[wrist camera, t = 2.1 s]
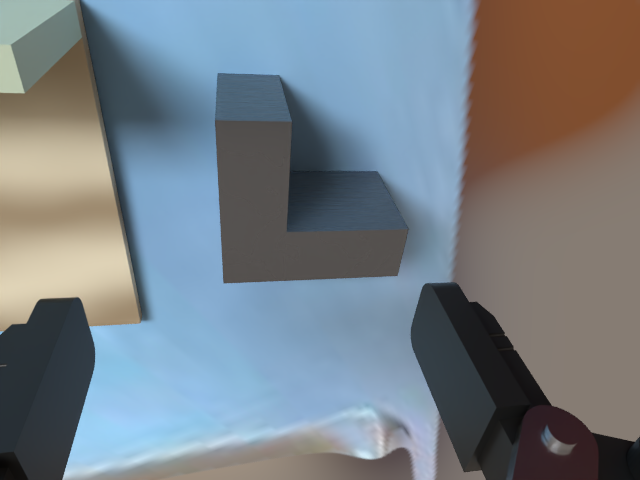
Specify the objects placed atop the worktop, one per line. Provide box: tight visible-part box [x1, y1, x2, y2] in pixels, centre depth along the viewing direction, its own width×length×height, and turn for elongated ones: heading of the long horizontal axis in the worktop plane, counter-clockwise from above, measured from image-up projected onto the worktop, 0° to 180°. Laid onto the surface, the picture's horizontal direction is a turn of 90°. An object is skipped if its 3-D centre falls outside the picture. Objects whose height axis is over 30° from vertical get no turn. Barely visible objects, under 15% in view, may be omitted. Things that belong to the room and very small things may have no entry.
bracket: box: [215, 73, 408, 283], centre depth 20 cm, size 7×8×5 cm
